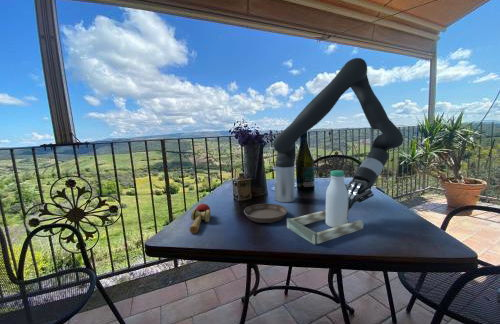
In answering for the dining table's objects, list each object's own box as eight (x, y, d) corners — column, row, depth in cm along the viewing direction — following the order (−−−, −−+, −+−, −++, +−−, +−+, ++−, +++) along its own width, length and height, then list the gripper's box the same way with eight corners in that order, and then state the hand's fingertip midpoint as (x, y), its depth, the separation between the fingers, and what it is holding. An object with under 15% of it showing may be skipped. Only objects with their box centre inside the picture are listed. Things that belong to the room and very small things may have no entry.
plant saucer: (255, 207, 106) (254, 201, 105) (292, 212, 98) (292, 205, 97) (236, 221, 90) (236, 214, 90) (279, 228, 82) (278, 220, 82)
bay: (331, 215, 92) (331, 207, 91) (363, 228, 79) (363, 219, 79) (286, 227, 82) (286, 218, 82) (314, 244, 69) (314, 234, 69)
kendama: (207, 236, 81) (215, 211, 98) (202, 220, 79) (211, 198, 96) (186, 240, 81) (198, 215, 99) (181, 225, 80) (193, 202, 97)
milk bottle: (346, 230, 78) (347, 173, 75) (323, 226, 82) (323, 172, 79) (349, 222, 84) (350, 169, 82) (328, 219, 88) (328, 168, 86)
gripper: (349, 164, 93) (326, 198, 89) (380, 168, 81) (356, 207, 77) (357, 175, 96) (336, 208, 92) (389, 181, 84) (365, 219, 80)
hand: (345, 208), depth 85 cm, fingers closed
